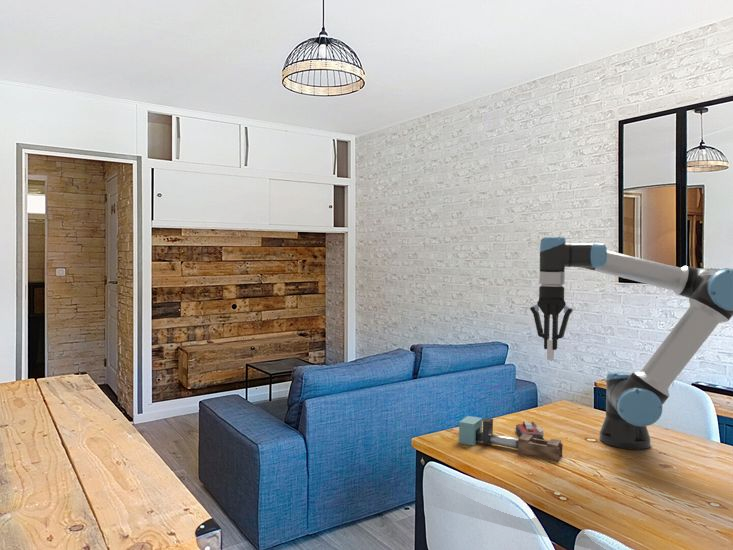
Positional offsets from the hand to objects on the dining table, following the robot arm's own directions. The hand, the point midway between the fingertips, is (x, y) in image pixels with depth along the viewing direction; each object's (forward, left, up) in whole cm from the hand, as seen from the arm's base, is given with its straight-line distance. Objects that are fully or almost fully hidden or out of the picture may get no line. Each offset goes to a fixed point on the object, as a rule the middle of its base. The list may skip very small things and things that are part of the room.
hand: (550, 359), depth 168 cm
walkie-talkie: (+9, -12, -29) cm, 33 cm away
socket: (+23, +7, -28) cm, 38 cm away
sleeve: (+1, +7, -28) cm, 29 cm away
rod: (+14, +7, -28) cm, 32 cm away
